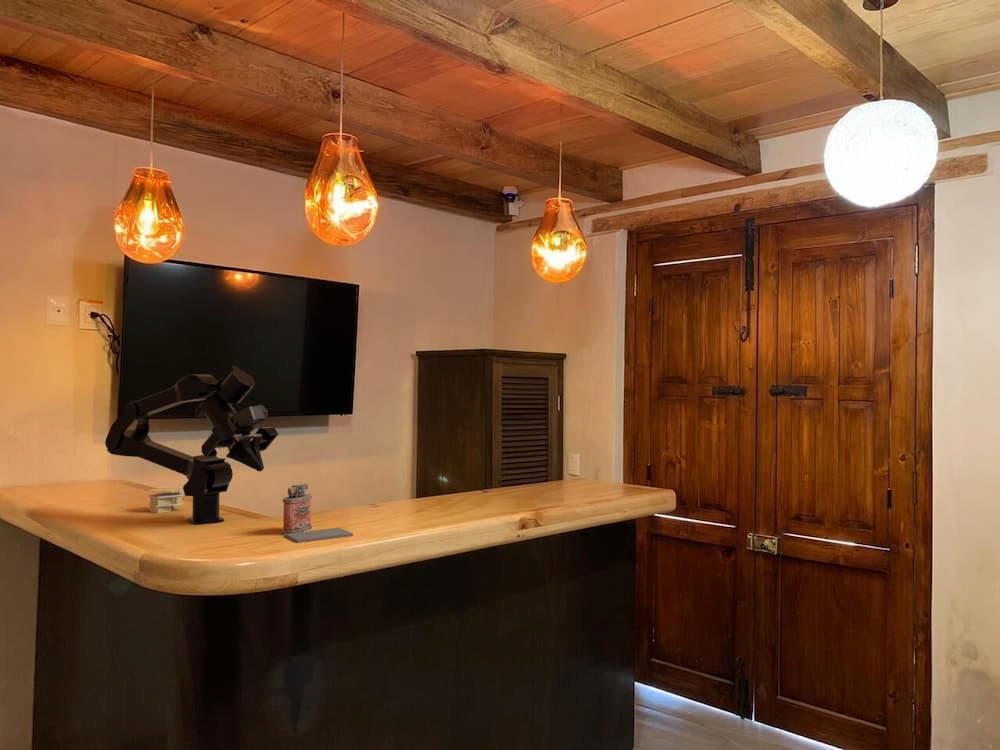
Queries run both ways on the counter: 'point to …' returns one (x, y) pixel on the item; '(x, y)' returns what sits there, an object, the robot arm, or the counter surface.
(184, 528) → the counter surface
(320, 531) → the mat
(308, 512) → the lighter
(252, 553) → the counter surface
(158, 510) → the stacked layers on plate
